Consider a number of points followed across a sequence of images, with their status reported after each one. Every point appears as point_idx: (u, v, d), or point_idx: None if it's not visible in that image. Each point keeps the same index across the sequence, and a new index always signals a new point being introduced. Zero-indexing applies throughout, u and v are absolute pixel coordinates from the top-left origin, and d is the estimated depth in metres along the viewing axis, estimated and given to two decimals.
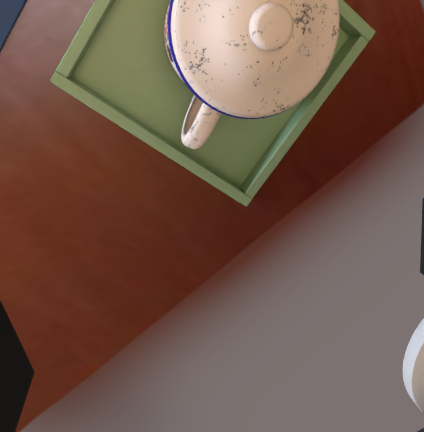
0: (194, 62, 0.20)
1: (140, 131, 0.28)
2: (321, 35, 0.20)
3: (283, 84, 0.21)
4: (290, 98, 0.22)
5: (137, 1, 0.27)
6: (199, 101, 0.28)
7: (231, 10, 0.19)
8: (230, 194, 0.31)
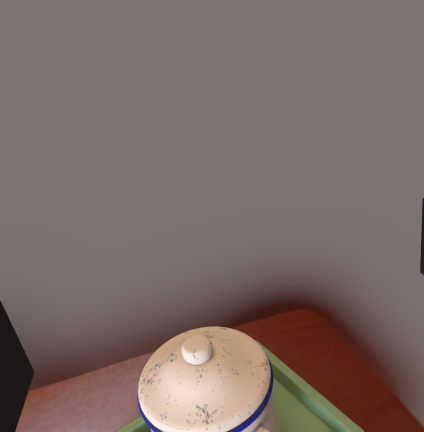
0: (204, 418, 0.23)
1: None
2: (221, 333, 0.29)
3: (244, 357, 0.26)
4: (258, 356, 0.27)
5: None
6: None
7: (177, 376, 0.25)
8: None
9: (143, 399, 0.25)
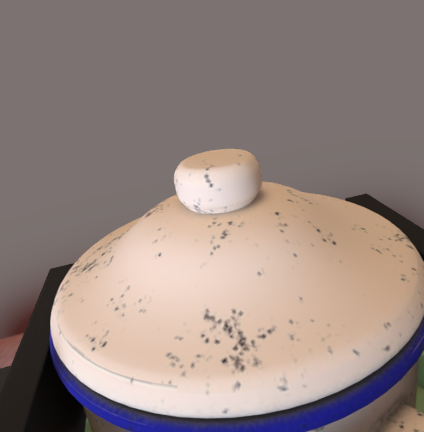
0: (228, 350, 0.07)
1: None
2: None
3: (346, 218, 0.10)
4: (382, 224, 0.10)
5: None
6: None
7: (156, 238, 0.09)
8: None
9: (59, 304, 0.09)
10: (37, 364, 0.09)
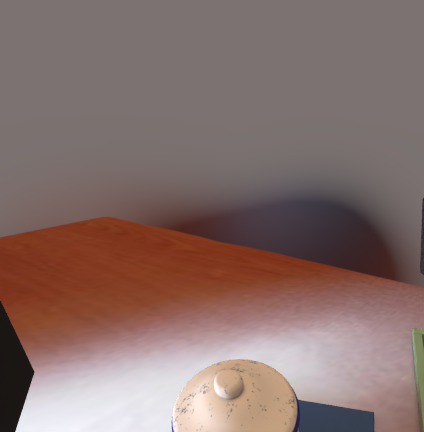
0: None
1: None
2: (251, 367, 0.31)
3: (273, 393, 0.28)
4: (286, 393, 0.28)
5: None
6: None
7: (209, 408, 0.27)
8: None
9: (177, 427, 0.27)
10: None
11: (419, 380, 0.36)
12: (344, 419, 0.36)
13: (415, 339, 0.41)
